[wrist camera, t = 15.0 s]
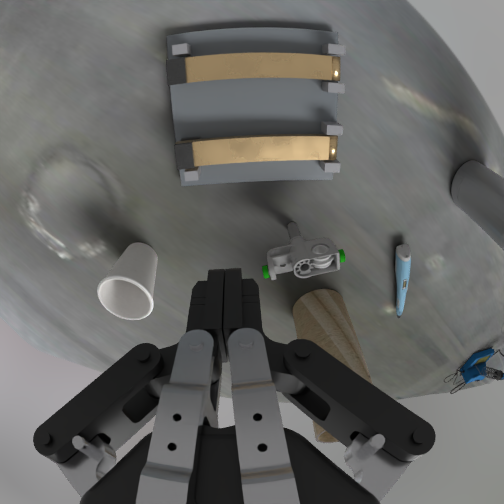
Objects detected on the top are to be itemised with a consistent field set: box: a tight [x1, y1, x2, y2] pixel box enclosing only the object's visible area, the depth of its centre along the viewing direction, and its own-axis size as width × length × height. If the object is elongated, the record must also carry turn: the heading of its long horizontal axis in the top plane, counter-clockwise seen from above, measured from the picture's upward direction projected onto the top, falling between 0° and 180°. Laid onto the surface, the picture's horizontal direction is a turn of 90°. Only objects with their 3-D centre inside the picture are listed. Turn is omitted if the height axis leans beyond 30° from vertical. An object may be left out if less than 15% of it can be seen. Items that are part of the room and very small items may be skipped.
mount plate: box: [167, 27, 345, 186], centre depth 31 cm, size 20×20×4 cm
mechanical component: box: [262, 222, 345, 280], centre depth 39 cm, size 3×10×10 cm, turn 103°
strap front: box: [166, 53, 340, 86], centre depth 27 cm, size 19×3×2 cm, turn 92°
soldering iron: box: [444, 348, 504, 394], centre depth 79 cm, size 35×31×18 cm
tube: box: [292, 289, 373, 443], centre depth 43 cm, size 10×10×25 cm
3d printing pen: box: [395, 244, 411, 318], centre depth 50 cm, size 19×3×3 cm, turn 18°
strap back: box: [174, 134, 338, 170], centre depth 32 cm, size 19×3×2 cm, turn 92°
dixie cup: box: [97, 242, 158, 320], centre depth 41 cm, size 8×8×10 cm
